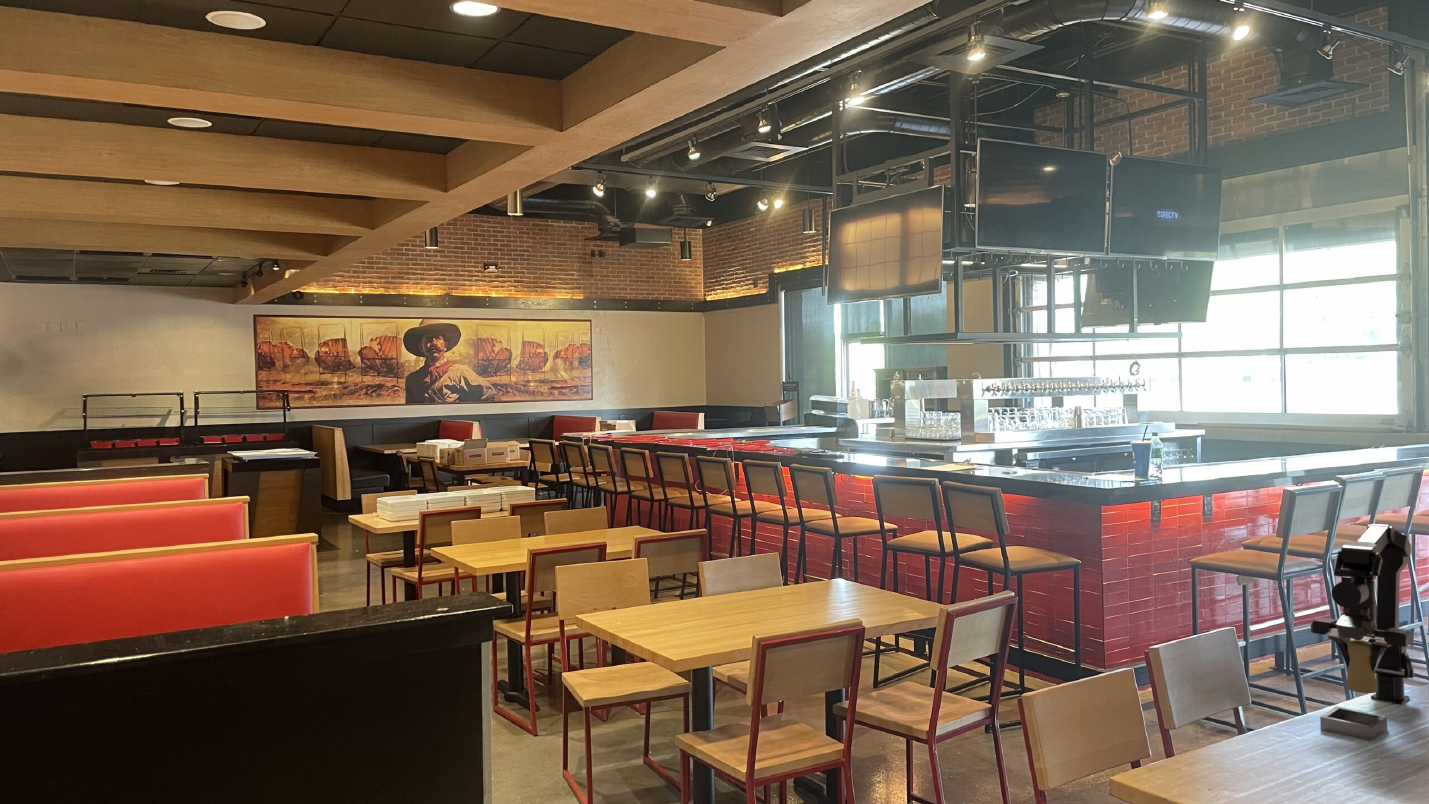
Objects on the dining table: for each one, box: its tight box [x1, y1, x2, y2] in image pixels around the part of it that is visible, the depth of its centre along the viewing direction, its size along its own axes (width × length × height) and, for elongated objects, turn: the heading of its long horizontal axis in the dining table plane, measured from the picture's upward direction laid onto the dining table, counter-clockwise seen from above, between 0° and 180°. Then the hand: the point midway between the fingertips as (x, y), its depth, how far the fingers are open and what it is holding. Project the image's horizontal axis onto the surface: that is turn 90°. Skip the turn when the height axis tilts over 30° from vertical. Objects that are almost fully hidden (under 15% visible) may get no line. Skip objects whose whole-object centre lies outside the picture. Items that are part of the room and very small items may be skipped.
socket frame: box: [1319, 705, 1388, 742], centre depth 217 cm, size 10×10×3 cm
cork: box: [1345, 639, 1378, 694], centre depth 220 cm, size 6×6×11 cm
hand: (1361, 669), depth 220 cm, fingers closed on cork, 4 cm apart
